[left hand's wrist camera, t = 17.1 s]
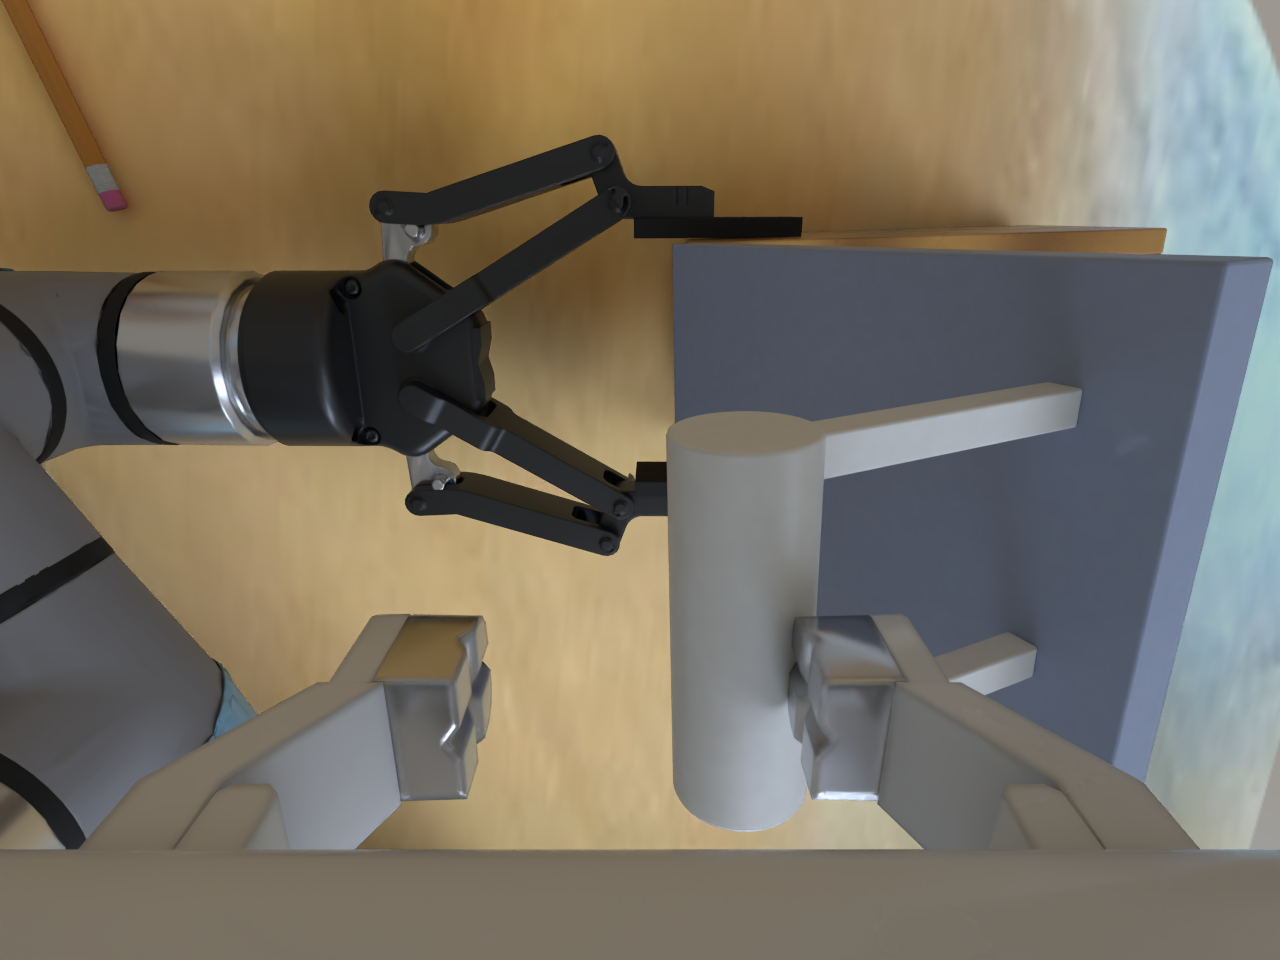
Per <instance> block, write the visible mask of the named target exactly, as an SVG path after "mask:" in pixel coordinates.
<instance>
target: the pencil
mask: <svg viewBox="0 0 1280 960" xmlns="http://www.w3.org/2000/svg"><path fill="white" fill-rule="evenodd" d="M2 2H3V4H4V6H5V8H6V10H7V12H8V14H9V16H10V18H11V20H12V22H13V24H14V26H15V28H16V30H17V32H18V34H19V36H20V38H21V40H22V42H23V44H24V46H25V48H26V50H27V52H28V54H29V56H30V58H31V60H32V62H33V64H34V66H35V68H36V70H37V72H38V74H39V76H40V78H41V80H42V82H43V84H44V86H45V88H46V90H47V92H48V94H49V96H50V98H51V100H52V102H53V104H54V106H55V108H56V110H57V112H58V114H59V116H60V118H61V120H62V122H63V124H64V126H65V128H66V130H67V132H68V134H69V136H70V138H71V140H72V142H73V144H74V146H75V148H76V150H77V152H78V154H79V156H80V158H81V160H82V162H83V164H84V166H85V169H86V170H87V172H88V174H89V177H90V178H91V180H92V182H93V184H94V187H95V189H96V190H97V192H98V194H99V196H100V198H101V200H102V202H103V204H104V206H105V208H106V209H107V210H108V211H118V210H122V209H125V208H126V207H127V204H126V202H125V200H124V198H123V196H122V194H121V192H120V189H119V187H118V184H117V182H116V181H115V179H114V177H113V175H112V173H111V170H110V168H109V166H108V165H107V163H106V161H105V159H104V157H103V155H102V153H101V151H100V149H99V147H98V145H97V143H96V141H95V139H94V137H93V135H92V133H91V131H90V128H89V126H88V124H87V122H86V120H85V118H84V116H83V114H82V112H81V110H80V108H79V106H78V104H77V102H76V100H75V98H74V96H73V94H72V92H71V90H70V88H69V86H68V84H67V81H66V79H65V77H64V75H63V73H62V71H61V69H60V67H59V65H58V63H57V61H56V59H55V57H54V55H53V53H52V51H51V49H50V47H49V45H48V43H47V41H46V39H45V37H44V35H43V32H42V30H41V28H40V26H39V24H38V22H37V20H36V18H35V16H34V14H33V12H32V10H31V8H30V6H29V4H28V2H27V0H2Z"/></svg>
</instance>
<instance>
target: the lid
mask: <svg viewBox="0 0 1280 960" xmlns="http://www.w3.org/2000/svg"><path fill="white" fill-rule="evenodd" d="M672 252H673V316H674V380H675V424H673V425H672V426H671V427H670V428H669V429H668V431H667V434H666V448H667V498H668V549H669V599H670V649H671V700H672V750H673V784H674V789H675V791H676V794H677V796H678V797H679V799H680V801H681V802H682V804H683V805H684V806H685V807H686V809H687V810H688V811H690V812H691V813H692V814H693V815H694V816H696V817H697V818H698V819H700V820H702V821H704V822H706V823H708V824H710V825H712V826H715V827H718V828H721V829H725V830H730V831H739V832H753V831H761V830H765V829H769V828H772V827H775V826H778V825H780V824H782V823H784V822H785V821H787V820H788V819H789V818H791V817H792V816H793V815H794V814H795V813H796V812H797V810H798V809H799V808H800V806H801V805H802V803H803V801H804V798H805V795H806V788H807V781H806V778H805V775H804V771H803V768H802V764H801V752H802V744H801V743H800V742H799V741H797V740H796V739H795V738H794V736H793V733H792V729H791V725H790V719H789V713H788V685H789V672H790V671H791V669H792V668H793V666H794V664H795V662H796V658H795V654H794V651H793V648H792V645H791V643H792V631H793V623H794V619H795V617H807V616H847V615H880V614H903V615H905V616H907V617H908V619H909V620H910V622H911V624H912V625H913V627H914V628H915V630H916V631H917V633H918V634H919V636H920V637H921V639H922V640H923V642H924V643H925V645H926V647H927V648H928V650H929V651H930V653H931V654H932V656H933V657H934V659H935V660H936V662H937V663H938V665H939V666H940V668H941V670H942V671H943V673H944V674H945V676H946V677H947V679H948V680H949V682H961V683H963V684H965V685H967V686H969V687H970V688H972V689H974V690H976V691H978V692H980V693H981V694H983V695H985V696H987V697H989V698H991V699H992V700H994V701H996V702H998V703H1000V704H1001V705H1003V706H1005V707H1007V708H1009V709H1011V710H1012V711H1014V712H1016V713H1018V714H1020V715H1022V716H1023V717H1025V718H1027V719H1029V720H1031V721H1032V722H1034V723H1036V724H1038V725H1040V726H1042V727H1043V728H1045V729H1047V730H1049V731H1051V732H1053V733H1054V734H1056V735H1058V736H1060V737H1062V738H1063V739H1065V740H1067V741H1069V742H1071V743H1073V744H1074V745H1076V746H1078V747H1080V748H1082V749H1084V750H1085V751H1087V752H1089V753H1091V754H1093V755H1094V756H1096V757H1098V758H1100V759H1102V760H1104V761H1105V762H1107V763H1109V764H1111V765H1113V766H1115V767H1116V768H1118V769H1120V770H1122V771H1124V772H1126V773H1127V774H1129V775H1131V776H1133V777H1135V778H1136V779H1138V780H1140V781H1142V782H1143V783H1144V781H1145V777H1146V773H1147V769H1148V765H1149V760H1150V756H1151V752H1152V748H1153V744H1154V740H1155V736H1156V732H1157V728H1158V724H1159V720H1160V716H1161V712H1162V708H1163V704H1164V700H1165V696H1166V692H1167V688H1168V684H1169V680H1170V676H1171V672H1172V668H1173V664H1174V660H1175V656H1176V652H1177V648H1178V643H1179V639H1180V635H1181V631H1182V627H1183V623H1184V619H1185V615H1186V611H1187V607H1188V603H1189V599H1190V595H1191V591H1192V587H1193V583H1194V579H1195V575H1196V571H1197V567H1198V563H1199V559H1200V555H1201V551H1202V547H1203V543H1204V539H1205V535H1206V531H1207V526H1208V522H1209V518H1210V514H1211V510H1212V506H1213V502H1214V498H1215V494H1216V490H1217V486H1218V482H1219V478H1220V474H1221V470H1222V466H1223V462H1224V458H1225V454H1226V450H1227V446H1228V442H1229V438H1230V434H1231V430H1232V426H1233V422H1234V418H1235V414H1236V410H1237V405H1238V401H1239V397H1240V393H1241V389H1242V385H1243V381H1244V377H1245V373H1246V369H1247V365H1248V361H1249V357H1250V353H1251V349H1252V345H1253V341H1254V337H1255V333H1256V329H1257V325H1258V321H1259V317H1260V313H1261V309H1262V305H1263V301H1264V297H1265V293H1266V288H1267V284H1268V280H1269V276H1270V272H1271V268H1272V264H1273V260H1272V259H1271V258H1268V257H1239V256H1200V255H1161V254H1122V253H1082V252H1043V251H1004V250H965V249H926V248H887V247H848V246H809V245H770V244H731V243H685V244H674V245H673V246H672Z"/></svg>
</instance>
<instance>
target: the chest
mask: <svg viewBox="0 0 1280 960" xmlns="http://www.w3.org/2000/svg"><path fill="white" fill-rule="evenodd" d="M1166 231H1167V229H1166V228H1140V227H1090V226H1039V225H1020V226H988V227H956V228H925V229H893V230H861V231H829V232H801V237H775V238H687V243H731V244H770V245H809V246H848V247H887V248H926V249H965V250H1004V251H1043V252H1082V253H1122V254H1161V253H1162V252H1163V247H1164V242H1165V237H1166ZM1161 255H1162V254H1161Z"/></svg>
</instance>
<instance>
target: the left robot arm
mask: <svg viewBox="0 0 1280 960" xmlns="http://www.w3.org/2000/svg"><path fill="white" fill-rule="evenodd" d="M487 645H488V637H487V628H486V622H485V620H484V618H483V616H466V615H415V614H414V615H410V614H378V615H375V616H372V617H371V618H370V619H369V621H368V623H367V624H366V626H365V627H364V629H363V630H362V632H361V633H360V635H359V636H358V638H357V640H356V641H355V643H354V644H353V646H352V647H351V649H350V650H349V652H348V654H347V655H346V657H345V658H344V660H343V661H342V663H341V664H340V666H339V667H338V669H337V671H336V672H335V674H334V675H333V677H332V678H331V680H330V681H329V682H317V683H316V684H314V685H312V686H310V687H308V688H306V689H305V690H303V691H301V692H299V693H297V694H295V695H294V696H292V697H290V698H288V699H286V700H284V701H283V702H281V703H279V704H277V705H275V706H273V707H272V708H270V709H268V710H266V711H264V712H262V713H261V714H259V715H257V716H255V717H253V718H251V719H250V720H248V721H246V722H244V723H242V724H240V725H239V726H237V727H235V728H233V729H231V730H229V731H228V732H226V733H224V734H222V735H220V736H218V737H217V738H215V739H213V740H211V741H209V742H207V743H206V744H204V745H202V746H200V747H198V748H196V749H195V750H193V751H191V752H189V753H187V754H185V755H184V756H182V757H180V758H178V759H176V760H174V761H173V762H171V763H169V764H167V765H165V766H163V767H162V768H160V769H158V770H156V771H154V772H152V773H151V774H149V775H147V776H145V777H143V778H141V779H140V780H138V781H137V782H136V783H135V784H134V785H133V786H132V788H131V789H130V790H129V791H128V792H127V793H126V794H125V796H124V797H123V798H122V799H121V800H120V801H119V803H118V804H117V805H116V806H115V807H114V808H113V809H112V811H111V812H110V813H109V814H108V815H107V816H106V818H105V819H104V820H103V821H102V822H101V823H100V825H99V826H98V827H97V828H96V829H95V830H94V831H93V833H92V834H91V835H90V836H89V837H88V838H87V840H86V841H85V842H84V843H83V844H82V845H81V846H80V848H79V849H0V960H1280V850H1200V848H1199V847H1198V846H1197V845H1196V844H1195V843H1194V841H1193V840H1192V839H1191V838H1190V837H1189V836H1188V834H1187V833H1186V832H1185V831H1184V830H1183V829H1182V827H1181V826H1180V825H1179V824H1178V823H1177V822H1176V820H1175V819H1174V818H1173V817H1172V816H1171V815H1170V813H1169V812H1168V811H1167V810H1166V809H1165V808H1164V806H1163V805H1162V804H1161V803H1160V802H1159V801H1158V799H1157V798H1156V797H1155V796H1154V795H1153V794H1152V792H1151V791H1150V790H1149V789H1148V788H1147V787H1146V785H1145V784H1144V783H1143V782H1142V781H1140V780H1138V779H1136V778H1135V777H1133V776H1131V775H1129V774H1127V773H1126V772H1124V771H1122V770H1120V769H1118V768H1116V767H1115V766H1113V765H1111V764H1109V763H1107V762H1105V761H1104V760H1102V759H1100V758H1098V757H1096V756H1094V755H1093V754H1091V753H1089V752H1087V751H1085V750H1084V749H1082V748H1080V747H1078V746H1076V745H1074V744H1073V743H1071V742H1069V741H1067V740H1065V739H1063V738H1062V737H1060V736H1058V735H1056V734H1054V733H1053V732H1051V731H1049V730H1047V729H1045V728H1043V727H1042V726H1040V725H1038V724H1036V723H1034V722H1032V721H1031V720H1029V719H1027V718H1025V717H1023V716H1022V715H1020V714H1018V713H1016V712H1014V711H1012V710H1011V709H1009V708H1007V707H1005V706H1003V705H1001V704H1000V703H998V702H996V701H994V700H992V699H991V698H989V697H987V696H985V695H983V694H981V693H980V692H978V691H976V690H974V689H972V688H970V687H969V686H967V685H965V684H963V683H961V682H949V680H948V679H947V677H946V676H945V674H944V673H943V671H942V670H941V668H940V666H939V665H938V663H937V662H936V660H935V659H934V657H933V656H932V654H931V653H930V651H929V650H928V648H927V647H926V645H925V643H924V642H923V640H922V639H921V637H920V636H919V634H918V633H917V631H916V630H915V628H914V627H913V625H912V624H911V622H910V620H909V619H908V617H907V616H905V615H903V614H880V615H847V616H807V617H795V619H794V623H793V631H792V643H791V645H792V648H793V651H794V654H795V658H796V662H795V664H794V666H793V668H792V669H791V671H790V672H789V685H788V713H789V719H790V725H791V729H792V733H793V736H794V738H795V739H796V740H797V741H799V742H800V743H801V744H802V752H801V764H802V768H803V771H804V775H805V778H806V781H807V785H808V788H809V792H810V795H811V798H812V799H827V800H863V801H878V803H877V804H878V805H879V806H880V807H881V808H882V809H883V810H884V811H885V812H886V813H887V814H888V815H889V816H891V817H892V818H893V819H894V820H895V821H896V822H897V823H898V824H899V825H900V826H901V827H902V828H903V829H904V830H905V831H906V832H907V833H908V834H909V835H910V836H911V837H912V838H913V839H914V840H915V841H916V842H918V843H919V844H920V845H921V846H922V847H923V848H924V849H885V850H485V849H483V850H482V849H355V848H356V847H357V846H358V845H360V844H361V843H362V842H363V841H364V840H365V839H366V838H367V837H368V836H369V835H370V834H371V833H372V832H373V831H374V830H375V829H376V828H377V827H378V826H379V825H380V824H381V823H382V822H383V821H385V820H386V819H387V818H388V817H389V816H390V815H391V814H392V813H393V812H394V811H395V810H396V809H397V808H398V807H399V806H400V805H401V801H415V800H450V799H467V798H468V795H469V791H470V788H471V785H472V781H473V778H474V774H475V771H476V768H477V764H478V753H477V744H478V743H479V742H480V741H482V740H483V739H484V738H485V736H486V732H487V729H488V725H489V719H490V711H491V703H492V682H491V670H490V669H489V668H488V667H487V665H486V664H485V663H484V662H483V661H482V660H483V657H484V654H485V651H486V648H487Z"/></svg>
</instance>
